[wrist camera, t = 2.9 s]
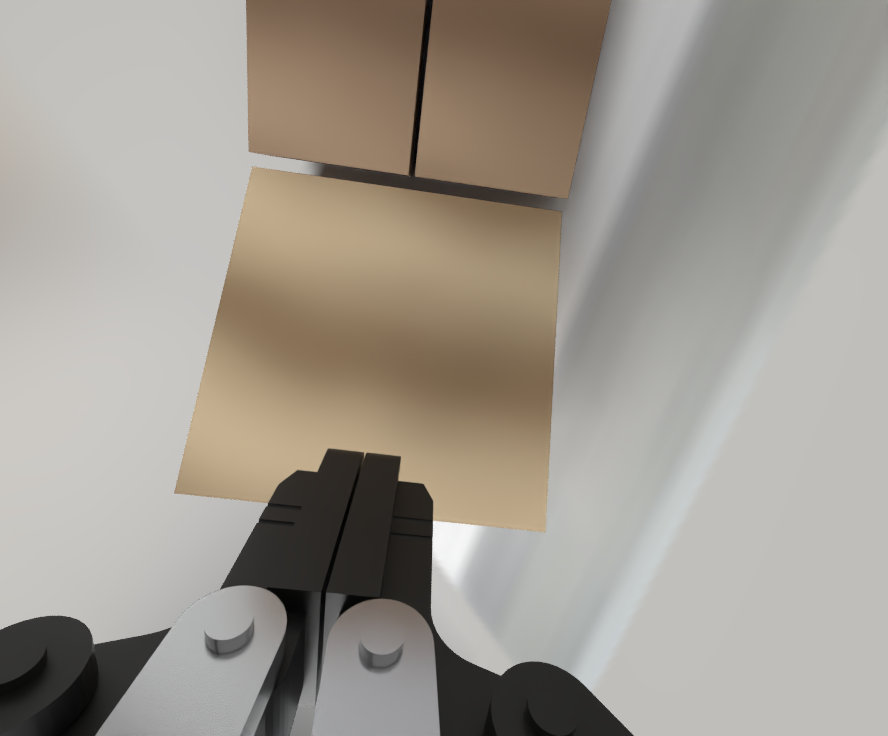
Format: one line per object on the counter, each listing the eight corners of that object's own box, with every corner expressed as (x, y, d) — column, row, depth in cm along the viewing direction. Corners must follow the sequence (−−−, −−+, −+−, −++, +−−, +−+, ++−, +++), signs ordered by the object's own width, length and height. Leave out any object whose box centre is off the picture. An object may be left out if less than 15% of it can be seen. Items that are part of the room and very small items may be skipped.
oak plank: (266, 196, 15) (252, 166, 14) (547, 235, 16) (561, 211, 14) (199, 491, 13) (174, 493, 12) (530, 526, 14) (545, 532, 12)
